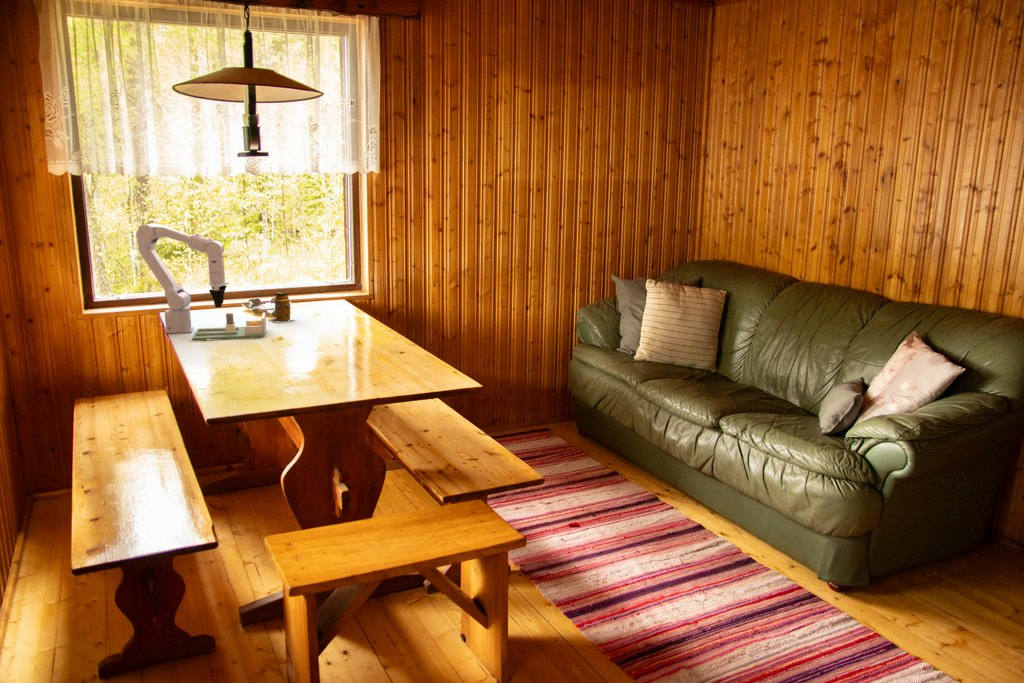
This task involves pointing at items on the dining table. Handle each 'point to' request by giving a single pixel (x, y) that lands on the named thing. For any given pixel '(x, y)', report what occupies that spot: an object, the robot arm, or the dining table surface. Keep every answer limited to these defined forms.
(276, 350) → the dining table surface
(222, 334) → the pitch
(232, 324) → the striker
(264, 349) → the dining table surface
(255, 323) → the ball
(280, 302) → the condiment
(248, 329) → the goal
